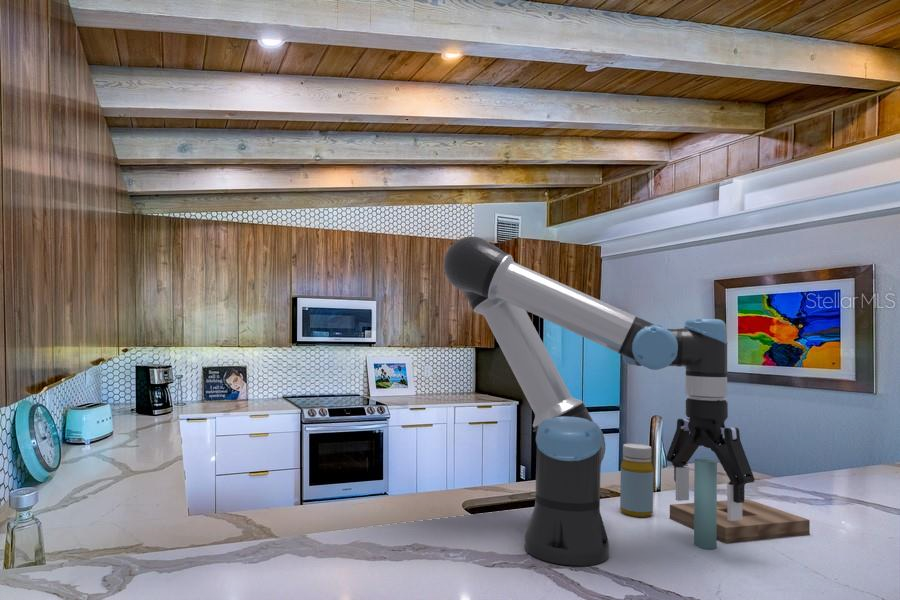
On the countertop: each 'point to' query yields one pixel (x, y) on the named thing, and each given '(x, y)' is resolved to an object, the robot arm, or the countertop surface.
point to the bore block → (747, 522)
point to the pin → (705, 503)
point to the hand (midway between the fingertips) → (707, 509)
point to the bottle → (636, 481)
